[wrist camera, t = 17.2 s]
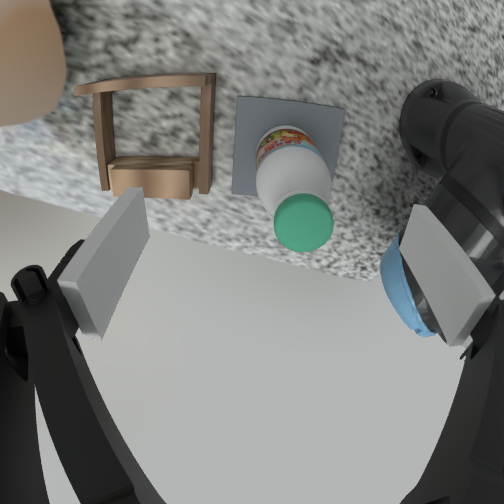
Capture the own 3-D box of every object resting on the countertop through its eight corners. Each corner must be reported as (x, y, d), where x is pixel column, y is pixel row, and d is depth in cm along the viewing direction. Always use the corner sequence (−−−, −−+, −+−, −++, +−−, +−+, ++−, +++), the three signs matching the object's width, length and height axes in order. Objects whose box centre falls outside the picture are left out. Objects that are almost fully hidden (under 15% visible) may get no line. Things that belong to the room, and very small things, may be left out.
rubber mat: (343, 108, 35) (345, 109, 35) (326, 200, 43) (327, 202, 43) (238, 95, 35) (237, 96, 34) (232, 191, 43) (231, 193, 42)
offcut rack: (216, 73, 33) (205, 75, 27) (211, 184, 42) (202, 209, 36) (104, 79, 33) (74, 86, 26) (111, 181, 42) (87, 204, 36)
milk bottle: (325, 149, 38) (373, 224, 22) (288, 188, 42) (305, 283, 25) (281, 112, 35) (301, 159, 19) (244, 155, 39) (232, 235, 23)
